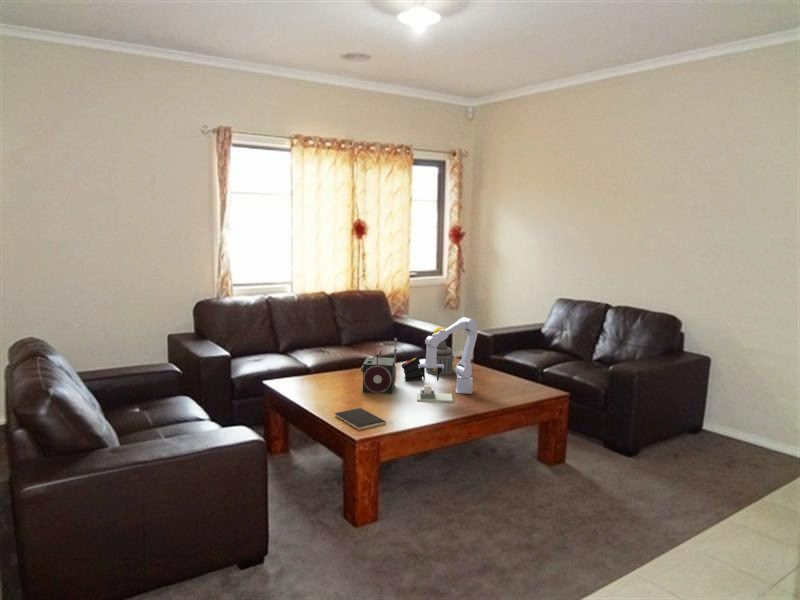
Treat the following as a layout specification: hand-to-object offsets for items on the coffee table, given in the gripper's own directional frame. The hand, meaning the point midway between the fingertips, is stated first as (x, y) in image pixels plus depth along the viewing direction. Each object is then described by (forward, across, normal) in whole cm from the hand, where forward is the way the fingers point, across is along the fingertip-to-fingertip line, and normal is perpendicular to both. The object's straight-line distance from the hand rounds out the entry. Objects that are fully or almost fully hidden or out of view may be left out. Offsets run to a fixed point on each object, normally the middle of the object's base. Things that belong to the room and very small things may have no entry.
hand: (430, 380), depth 340 cm
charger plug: (+8, +2, +4) cm, 9 cm away
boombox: (+9, +30, -11) cm, 33 cm away
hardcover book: (+10, +37, +42) cm, 57 cm away
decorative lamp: (+10, -8, -53) cm, 54 cm away
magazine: (+10, +11, -30) cm, 33 cm away
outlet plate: (+9, -2, +4) cm, 10 cm away
